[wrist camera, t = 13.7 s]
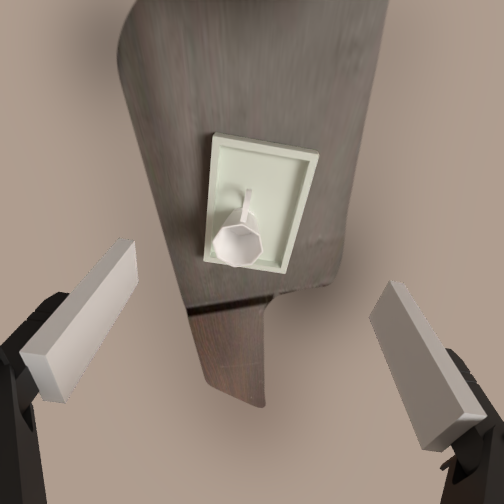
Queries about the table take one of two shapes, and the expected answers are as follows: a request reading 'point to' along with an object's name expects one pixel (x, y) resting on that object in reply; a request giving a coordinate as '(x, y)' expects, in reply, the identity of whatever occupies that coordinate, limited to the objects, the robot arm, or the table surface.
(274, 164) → the tray
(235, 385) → the table surface
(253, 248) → the cup
